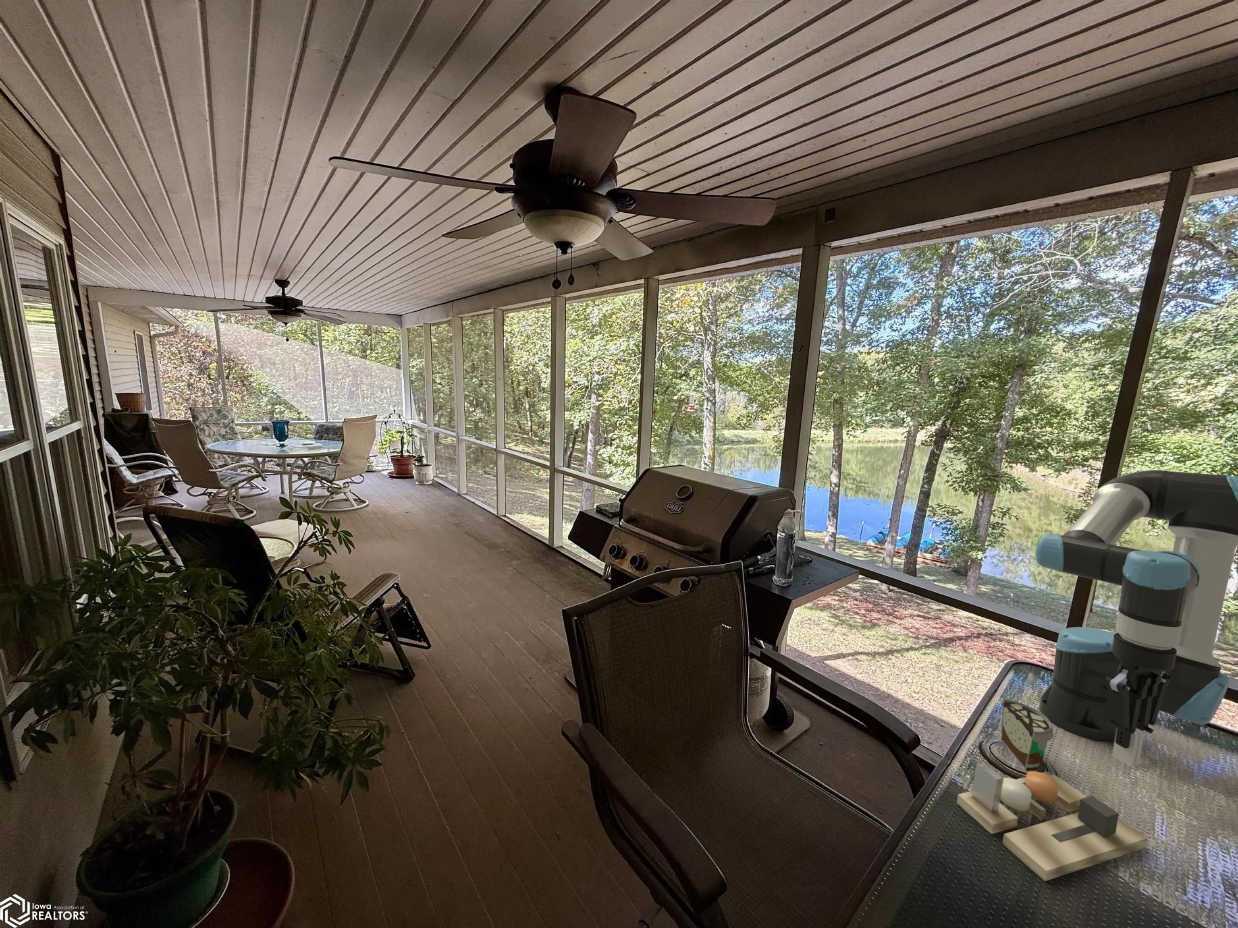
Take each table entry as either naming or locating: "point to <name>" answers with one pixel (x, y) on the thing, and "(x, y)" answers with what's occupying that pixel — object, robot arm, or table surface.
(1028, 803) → the white egg
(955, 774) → the table surface
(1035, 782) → the brown egg
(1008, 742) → the food container
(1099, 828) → the slider knob
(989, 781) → the toggle lever
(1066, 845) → the beige flat pieces
